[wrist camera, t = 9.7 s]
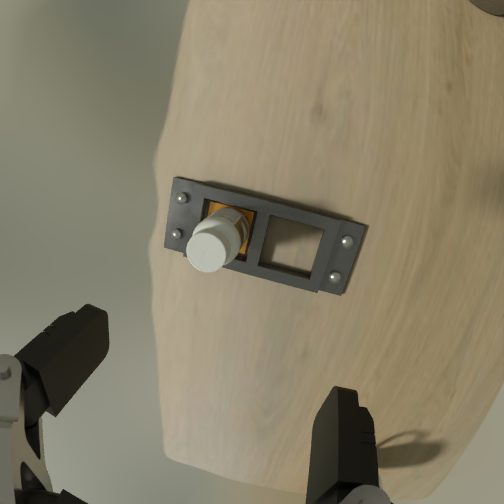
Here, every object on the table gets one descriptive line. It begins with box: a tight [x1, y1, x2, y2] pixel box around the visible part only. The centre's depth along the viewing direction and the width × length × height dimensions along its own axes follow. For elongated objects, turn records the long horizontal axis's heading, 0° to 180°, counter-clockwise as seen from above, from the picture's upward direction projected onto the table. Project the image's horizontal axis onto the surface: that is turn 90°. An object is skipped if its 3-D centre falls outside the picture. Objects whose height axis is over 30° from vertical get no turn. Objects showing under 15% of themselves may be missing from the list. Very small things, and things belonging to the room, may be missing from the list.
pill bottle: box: [186, 208, 249, 273], centre depth 29 cm, size 4×4×8 cm
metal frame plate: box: [164, 177, 365, 296], centre depth 31 cm, size 8×20×1 cm, turn 78°
